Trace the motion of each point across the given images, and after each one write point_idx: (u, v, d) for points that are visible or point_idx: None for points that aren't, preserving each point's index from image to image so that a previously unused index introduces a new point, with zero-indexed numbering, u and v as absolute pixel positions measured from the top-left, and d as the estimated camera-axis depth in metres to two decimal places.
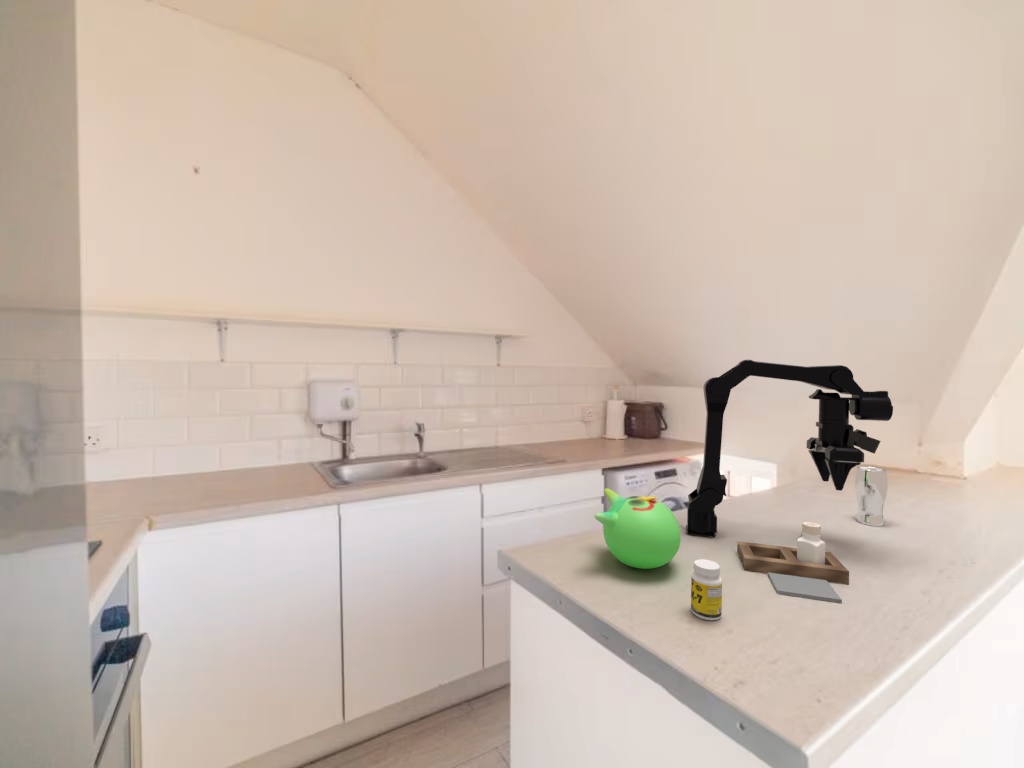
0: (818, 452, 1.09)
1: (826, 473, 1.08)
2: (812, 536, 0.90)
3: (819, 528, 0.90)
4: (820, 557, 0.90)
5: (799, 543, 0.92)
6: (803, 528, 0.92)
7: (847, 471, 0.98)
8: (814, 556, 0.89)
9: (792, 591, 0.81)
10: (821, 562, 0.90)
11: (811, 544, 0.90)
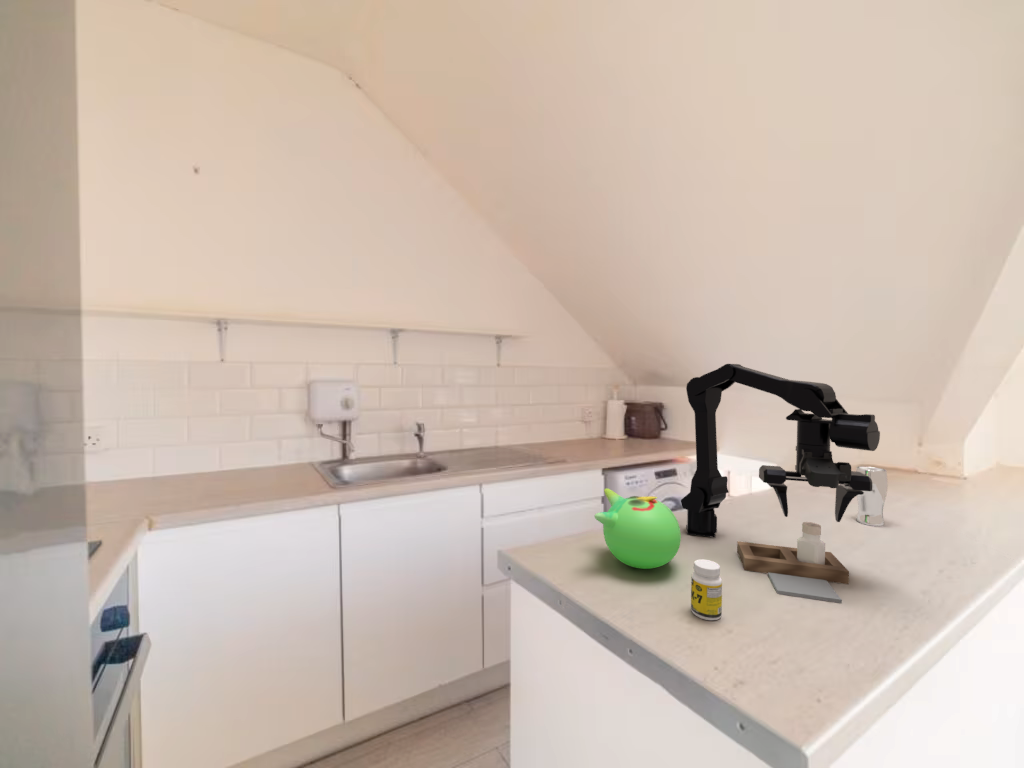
0: (839, 486, 0.91)
1: (837, 512, 0.90)
2: (812, 536, 0.90)
3: (819, 528, 0.90)
4: (820, 557, 0.90)
5: (799, 543, 0.92)
6: (803, 528, 0.92)
7: (778, 494, 0.93)
8: (814, 556, 0.89)
9: (792, 591, 0.81)
10: (821, 562, 0.90)
11: (811, 544, 0.90)
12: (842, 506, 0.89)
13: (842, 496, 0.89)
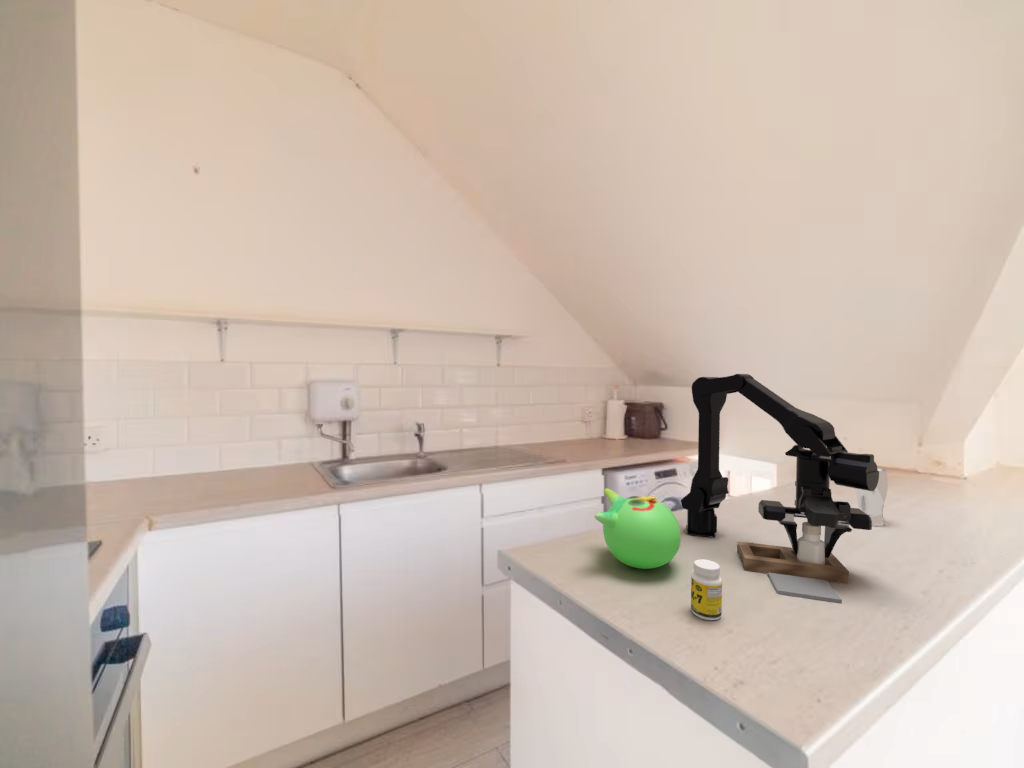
0: None
1: (826, 547, 0.91)
2: (812, 536, 0.90)
3: (819, 528, 0.90)
4: (820, 557, 0.90)
5: (799, 543, 0.92)
6: (803, 528, 0.92)
7: (788, 531, 0.92)
8: (814, 556, 0.89)
9: (792, 591, 0.81)
10: (821, 562, 0.90)
11: (811, 544, 0.90)
12: (831, 542, 0.90)
13: (831, 532, 0.90)
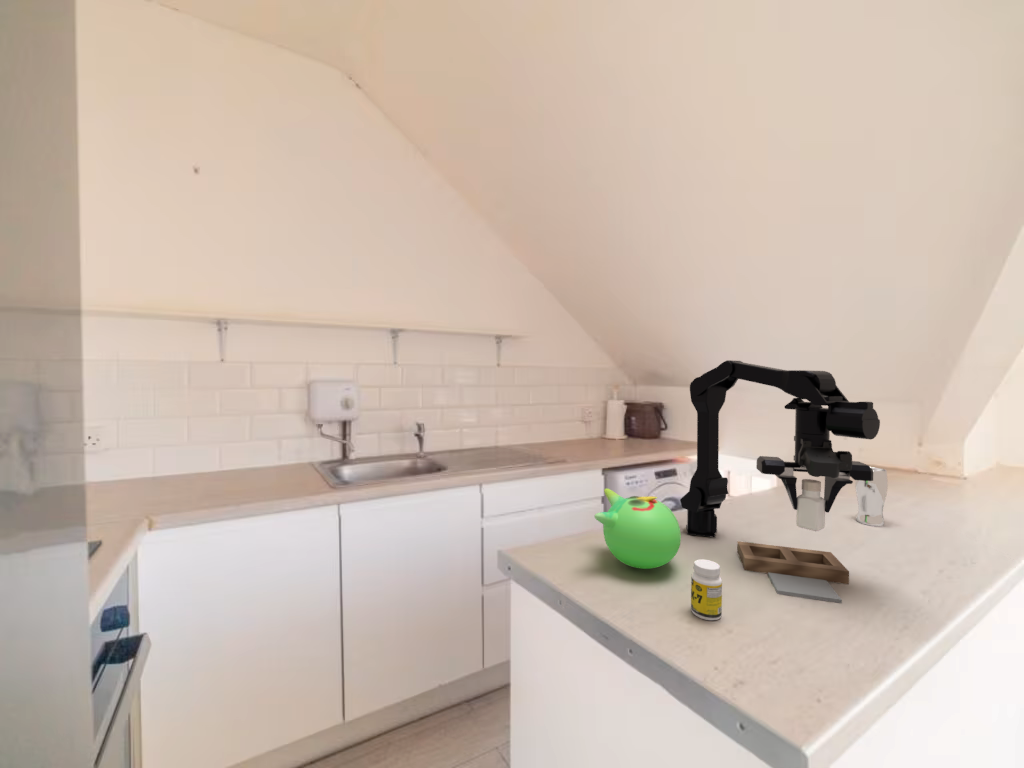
0: None
1: (826, 502, 0.88)
2: (813, 492, 0.88)
3: (819, 484, 0.88)
4: (820, 514, 0.87)
5: (799, 500, 0.89)
6: (803, 485, 0.89)
7: (787, 486, 0.89)
8: (815, 512, 0.87)
9: (792, 591, 0.81)
10: (821, 519, 0.87)
11: (812, 501, 0.87)
12: (831, 496, 0.87)
13: (831, 486, 0.87)
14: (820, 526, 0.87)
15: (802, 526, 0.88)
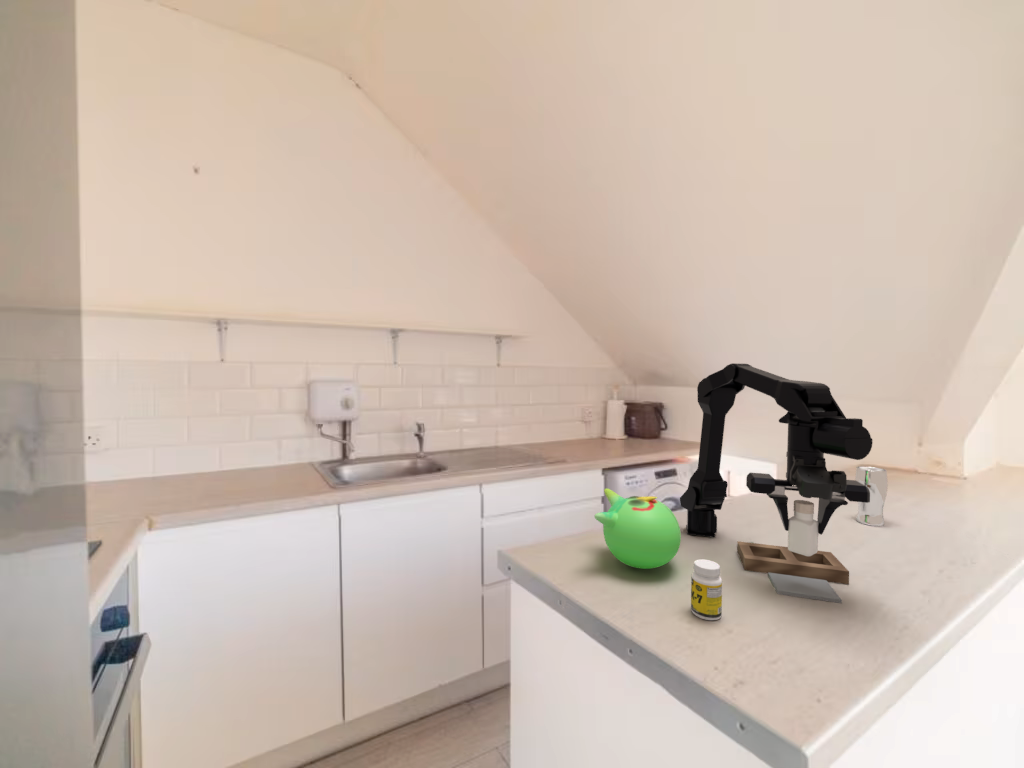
0: None
1: (819, 523, 0.83)
2: (805, 515, 0.82)
3: (812, 506, 0.82)
4: (813, 538, 0.82)
5: (790, 523, 0.83)
6: (795, 506, 0.84)
7: None
8: (807, 537, 0.81)
9: (792, 591, 0.81)
10: (814, 543, 0.82)
11: (804, 524, 0.82)
12: (825, 517, 0.81)
13: (825, 506, 0.81)
14: (813, 551, 0.82)
15: (793, 550, 0.83)
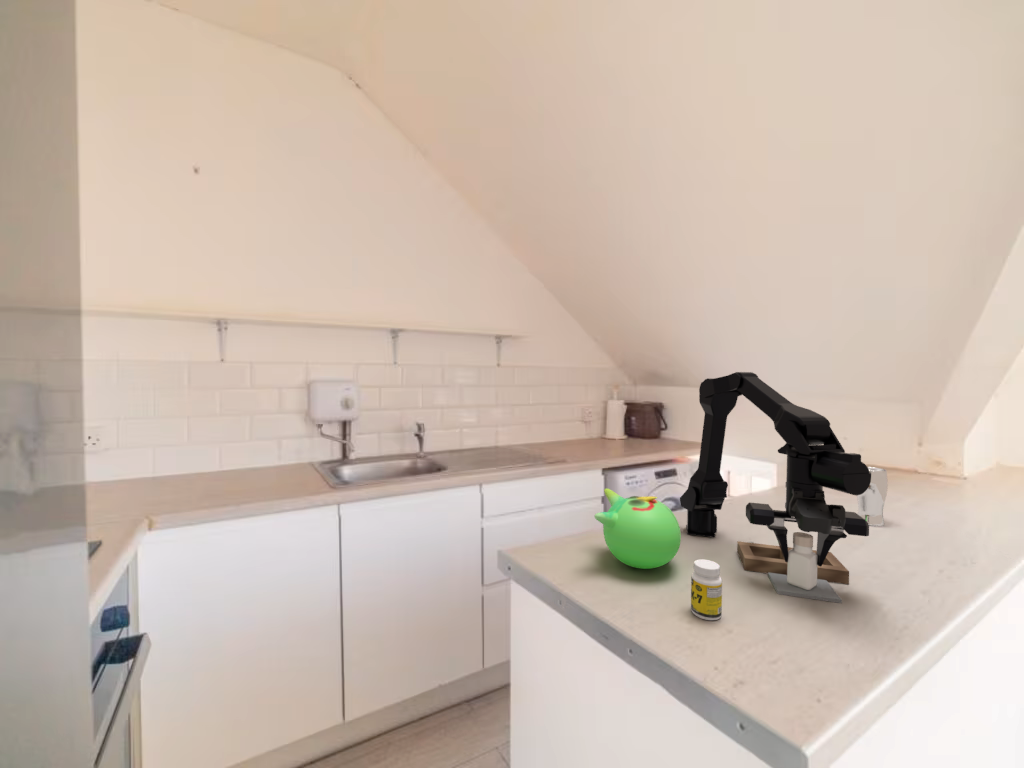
0: None
1: (818, 555, 0.83)
2: (804, 548, 0.82)
3: (811, 539, 0.82)
4: (813, 571, 0.82)
5: (790, 556, 0.84)
6: (794, 539, 0.84)
7: None
8: (806, 570, 0.81)
9: (792, 591, 0.81)
10: (814, 576, 0.82)
11: (804, 557, 0.82)
12: (824, 549, 0.82)
13: (824, 538, 0.81)
14: (812, 584, 0.82)
15: (793, 583, 0.83)
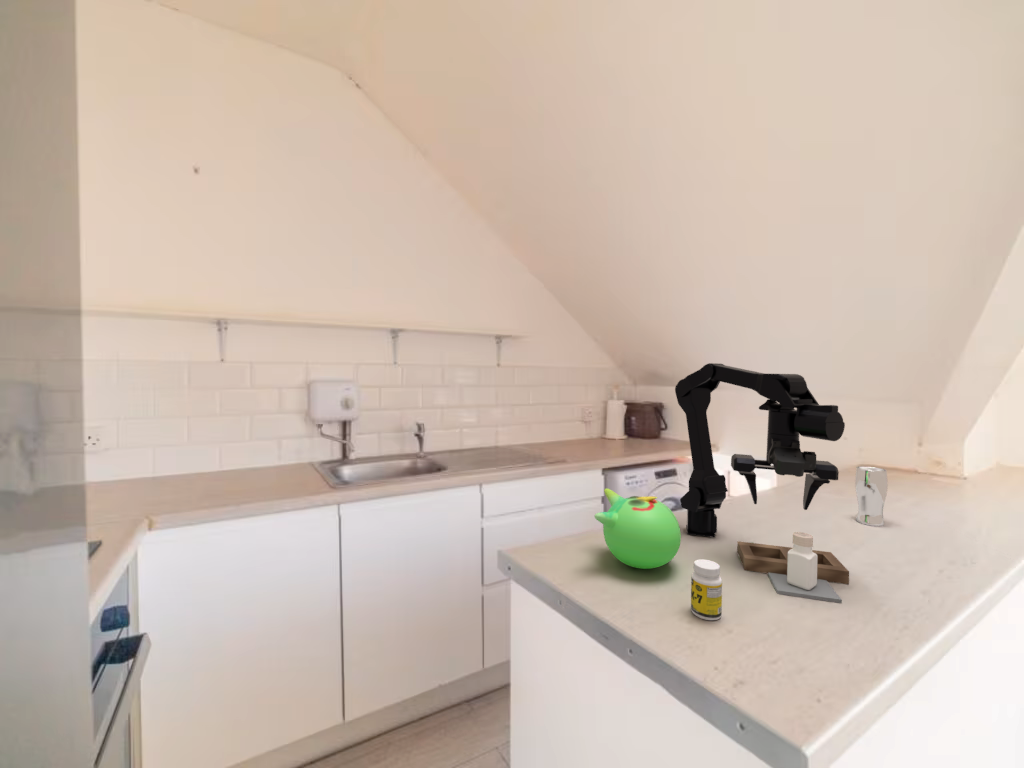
0: (808, 475, 0.93)
1: (804, 500, 0.92)
2: (804, 548, 0.82)
3: (811, 539, 0.82)
4: (813, 571, 0.82)
5: (790, 556, 0.84)
6: (794, 539, 0.84)
7: None
8: (806, 570, 0.81)
9: (792, 591, 0.81)
10: (813, 576, 0.82)
11: (804, 557, 0.82)
12: (809, 494, 0.91)
13: (809, 485, 0.91)
14: (812, 584, 0.82)
15: (793, 583, 0.83)
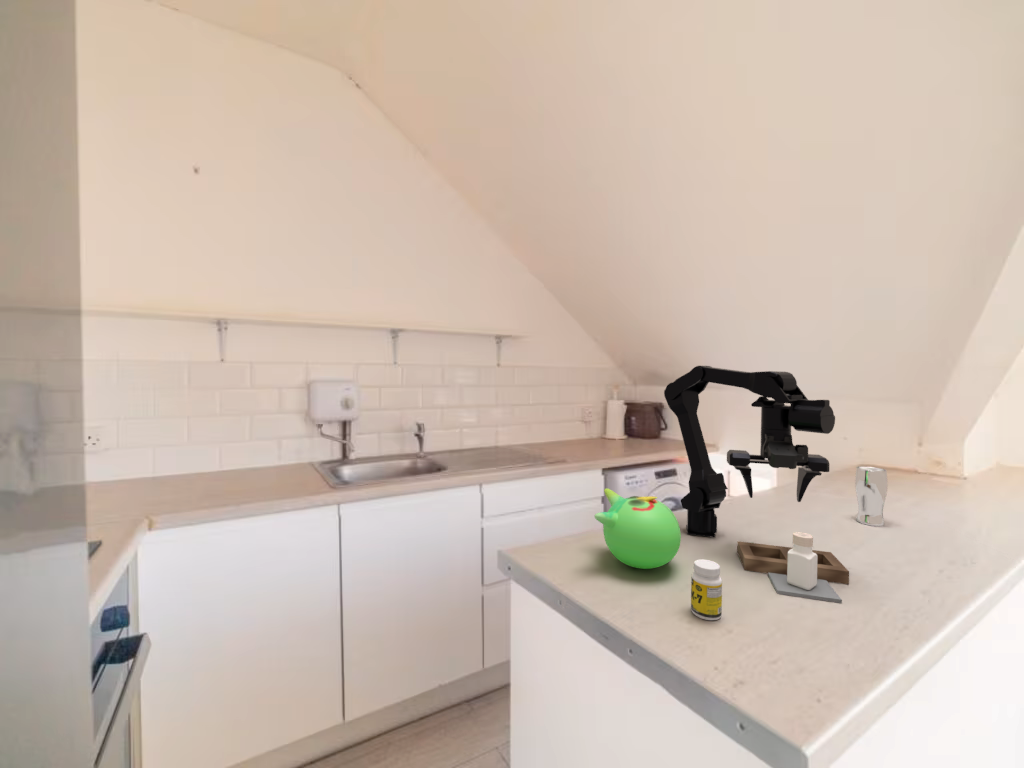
0: (800, 469, 0.97)
1: (798, 492, 0.96)
2: (804, 548, 0.82)
3: (811, 539, 0.82)
4: (813, 571, 0.82)
5: (790, 556, 0.84)
6: (794, 539, 0.84)
7: None
8: (806, 570, 0.81)
9: (792, 591, 0.81)
10: (813, 576, 0.82)
11: (804, 557, 0.82)
12: (802, 487, 0.95)
13: (802, 477, 0.94)
14: (812, 584, 0.82)
15: (793, 583, 0.83)
